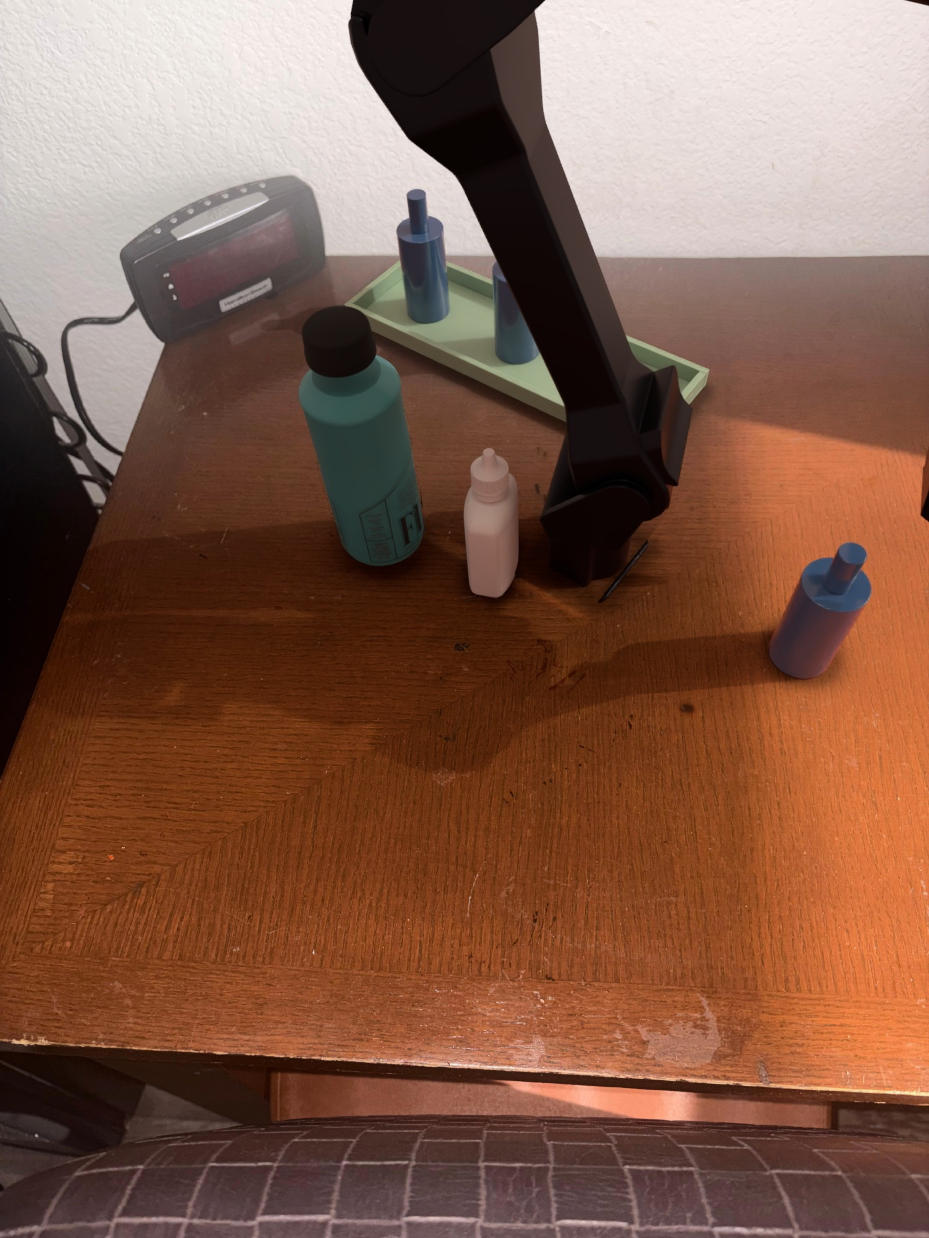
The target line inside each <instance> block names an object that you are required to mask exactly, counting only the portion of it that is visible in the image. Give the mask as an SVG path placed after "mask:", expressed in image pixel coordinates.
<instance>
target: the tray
mask: <svg viewBox="0 0 929 1238" xmlns="http://www.w3.org/2000/svg"><path fill="white" fill-rule="evenodd" d="M446 263H447V276H448V288H449V300H450V311H449V314H448V315H447V316H446V317H445V318H444V319H442V320H440V321H438V322H435V323H429V324H424V323H418V322H415V321H413V320H412V319H411V318H410V317H409V316H408V314H407V310H406V302H405V294H404V287H403V279H402V272H401V264H400V259H399V260H397V262H395V263H394V264H392V265H391V266H390V267H389V268H387V270H385V271H384V272H382V273H381V274H380V275H379V276H378V277H376V278H375V279H374V280H373V281H371V282H370V283H368V285H366V286H365V287H364V288H363V289H361V290H360V291H359V292H358V293H357V294H355V295H354V296H353V297H351V298H350V299H349V300H348V301H346V302H345V303H344V304H343V306H349V307H353V308H356V309H358V310H360V311H361V312H363V313H364V314H365V315H366V317H367V318H368V320H369V323H370V326H371V330H372V333H376V334H377V335H380V336H382V337H384V338H386V339H388V340H390V341H393V342H395V343H396V344H399V345H401V346H403V347H405V348H407V349H409V350H412V351H414V352H416V353H418V354H420V355H422V356H424V357H427V358H429V359H431V360H433V361H435V362H437V363H439V364H441V365H444V366H445V367H448V368H450V369H452V370H453V371H457V372H458V373H461V374H463V375H464V376H467V377H468V378H471V379H473V380H475V381H477V382H479V383H482V384H484V385H486V386H488V387H490V388H492V389H495V390H496V391H499V392H501V393H503V394H505V395H507V396H509V397H511V398H514V399H516V400H518V401H520V402H522V403H524V404H525V405H528V406H531V407H533V408H534V409H537V410H539V411H541V412H543V413H544V414H548V415H549V416H552V417H554V418H555V419H558V420H561V421H563V422H565V423H566V413H565V407H564V404H563V401H562V399H561V397H560V395H559V393H558V391H557V388H556V386H555V384H554V382H553V380H552V378H551V376H550V374H549V371H548V369H547V367H546V365H545V363H544V361H543V359H542V356H541V354H540V353H539V354H538V356H537V357H536V358H535V359H534V360H532V361H530V362H528V363H524V364H509V363H506V362H504V361H502V360H500V359H499V358H498V357H497V355H496V353H495V345H494V313H493V281H492V279H491V278H489V277H486V276H484V275H481V274H479V273H476V272H474V271H471V270H470V269H467V268H464V267H462V266H459V265H457V264H454V263H452V262H450V261H447V260H446ZM625 335H626V337H627V340H628V343H629V345H630V348H631V351H632V353H633V354H634V356H635V358H636V359H637V360H638V361H639V362H641V363H642V364H644V365H645V366H647V367H648V368H650V369H651V370H653V371H657V370H659V369H662V368H665V367H668V366H671V365H675V366H676V369H677V373H678V382H679V388H680V392H681V394H682V396H683V398H684V400H685V401H686V402H687V403H688V404H689V405H690V404H691V403H692V402H693V400H694V399H695V398H696V397H697V396H698V395H699V394H700V392H701V391H702V390H703V388H705V386H706V385H707V382H708V377H709V373H710V369H709V368H707V367H704V366H702V365H699V364H697V363H695V362H693V361H689V360H687V359H685V358H682V357H680V356H679V355H675V354H673V353H670V352H668V351H666V350H663V349H660V348H658V347H656V346H653V345H651V344H649V343H646V342H643V341H641V340H639V339H636V338H634V337H631V336H629V335H627V334H625Z"/></svg>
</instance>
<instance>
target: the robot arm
mask: <svg viewBox="0 0 929 1238" xmlns="http://www.w3.org/2000/svg"><path fill="white" fill-rule="evenodd" d="M904 1H906V2H910V3H914V4H918V5H923V6H927V7H929V0H904ZM544 2H546V0H352V3H351V8H350V18H349V20H348V23H347V28H348V36H349V42H350V45H351V48H352V52H353V54H354V57H355V61H356V63H357V65H358V67H359V68H360V70H361V72H362V74H363V75H364V77H365V79H366V80H367V82H368V83H369V84H370V86H371V87H372V88H373V90H374V92H375V93H376V95H377V96H378V98H379V99H380V100H381V102H382V103H383V105H384V106H385V108H386V109H387V111H388V112H389V114H390V115H391V116H392V118H393V119H394V121H395V122H396V124H397V125H398V127H399V128H400V129H401V131H402V132H403V134H404V135H405V137H406V138H407V139H408V140H409V141H410V143H412V144H413V145H415V146H416V147H417V148H418V149H420V150H421V151H423V153H425V154H427V155H428V156H429V157H431V158H432V159H433V160H434V161H436V162H437V163H438V164H440V165H441V166H443V167H444V168H445V169H446V170H447V171H449V172H450V173H451V174H452V175H453V176H454V177H455V178H456V180H457V182H458V183H459V185H460V186H461V189H462V190H463V192H464V195H465V196H466V199H467V201H468V203H469V205H470V207H471V209H472V212H473V214H474V216H475V219H476V220H477V223H478V224H479V227H480V229H481V231H482V233H483V235H484V238H485V239H486V242H487V243H488V245H489V248H490V250H491V252H492V254H493V256H494V258H495V262H496V261H497V263H498V265H499V267H500V269H501V271H502V273H503V276H504V278H505V280H506V282H507V284H508V286H509V288H510V290H511V293H512V295H513V297H514V299H515V301H516V303H517V305H518V308H519V310H520V312H521V314H522V316H523V318H524V320H525V322H526V325H527V327H528V329H529V331H530V333H531V335H532V337H533V339H534V342H535V344H536V346H537V348H538V350H539V352H540V354H541V356H542V359H543V361H544V363H545V365H546V367H547V369H548V371H549V374H550V376H551V378H552V380H553V382H554V384H555V386H556V388H557V391H558V393H559V395H560V397H561V399H562V401H563V404H564V407H565V413H566V422H565V424H566V425H565V426H566V428H565V429H566V431H565V432H564V437H563V440H562V445H561V447H560V450H559V453H558V457H557V460H556V462H555V463H556V464H555V467H554V469H553V470H554V471H553V475H552V477H551V480H550V483H549V487H548V490H547V494H546V497H545V501H544V503H543V506H542V507H543V508H542V510H541V514H540V517H539V522H540V524H541V526H542V528H543V531H544V533H545V535H546V537H547V538H548V545H547V546H548V548H547V568H548V569H550V570H552V571H554V572H556V573H558V575H561V576H562V577H565V578H567V579H569V580H570V581H572V582H574V583H576V584H577V585H579V586H580V587H584V588H585V587H588V586H589V585H590V584H591V583H592V582H593V581H598V580H604V579H607V578H610V577H612V576H614V575H616V574H617V573H618V572H619V571H621V570H622V571H621V572H620V573H619V574H618V576H617V577H616V578H615V579H614V580H613V582H612V583H611V584H610V586H609V587H608V588H607V589H606V591H605V592H604V593H603V594H602V596H601V597H600V598H599V599H598V602H599V603H604V602H606V601H607V600H608V599H609V597H610V596H611V595H612V594H613V592H614V591H615V590H616V589H617V587H618V586H619V585H620V583H622V581H623V580H624V579H625V577H626V576H627V575H628V574H629V572H630V571H631V570H632V568H633V567H634V566H635V565H636V564H637V562H638V561H639V560H640V558H641V557H642V556H643V555H644V554H645V552H646V551H647V549H648V546H649V544H650V543H649V540H648V539H646V540H645V542H644V543H643V544H642V545H641V547H640V548H639V549H638V551H637V552H636V553H635V554H634V556H633V557H632V558H631V559H630V560H629V562H628V563H627V561H628V559H629V555H630V550H631V544H632V538H633V534H634V533H635V532H636V531H637V530H638V529H639V527H640V526H641V525H642V524H643V523H644V522H649V521H653V519H656V518H657V517H659V516H661V515H662V514H663V513H664V512H665V511H666V510H668V509H669V508H670V505H671V500H672V494H673V489H674V487H678V486H679V483H680V478H681V473H682V468H683V462H684V457H685V453H686V452H685V451H686V447H687V443H688V442H687V441H688V436H689V431H690V425H691V421H692V417H693V411H694V408H693V407H692V406H691V405H690V404H688V403H687V402H686V401H685V400H684V398H683V396H682V394H681V392H680V388H679V382H678V373H677V369H676V366H675V365H671V366H668V367H665V368H662V369H659V370H657V371H653V370H651V369H650V368H648V367H647V366H645V365H644V364H642V363H641V362H639V361H638V360H637V359H636V358H635V356H634V354H633V353H632V351H631V348H630V345H629V343H628V340H627V337H626V335H627V334H626V332H625V329H624V326H623V324H622V321H621V319H620V316H619V314H618V311H617V307H616V305H615V303H614V300H613V297H612V295H611V292H610V290H609V287H608V284H607V281H606V278H605V276H604V273H603V271H602V268H601V265H600V262H599V260H598V257H597V255H596V252H595V250H594V246H593V244H592V241H591V238H590V235H589V233H588V231H587V227H586V225H585V222H584V220H583V218H582V215H581V212H580V209H579V207H578V204H577V202H576V199H575V196H574V193H573V191H572V188H571V185H570V183H569V180H568V177H567V175H566V172H565V170H564V166H563V164H562V162H561V159H560V156H559V153H558V151H557V148H556V145H555V143H554V140H553V137H552V134H551V132H550V129H549V127H548V124H547V120H546V116H545V111H544V99H543V85H542V68H541V51H540V37H539V27H538V21H537V15H536V11H537V9H538V8H539V7H541V5H543V3H544ZM924 460H925V461H924V465H923V467H922V479H921V493H920V497H921V498H920V511H919V512H920V513H919V515H920V517H921V518H923V519H924V520H925V521H927V523H929V446H928V448H927V451H926V454H925V459H924ZM626 563H627V565H626ZM624 566H625V567H624Z"/></svg>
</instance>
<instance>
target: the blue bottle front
mask: <svg viewBox="0 0 929 1238" xmlns="http://www.w3.org/2000/svg"><path fill="white" fill-rule="evenodd" d="M867 560H868V551H867V550H866V549H865V548H864V546H862V545H861V544H859V543H856V542H853V541H852V542H851V541H848V542H844V543H841V545H839V546H838V548H837V550H836V552H835V553H834V556H833V557H831V556H830V557H829V556H828V557H821V558H817V559H814V560H812V561H811V562H810V563H808V564H807V565H806V566H805V567H804V568H803V570H802V572H801V574H800V576H799V579H798V580H797V582H796V585H795V586H794V589H793V591H792V594H791V596H790V598H789V600H788V602H787V603H786V606H785V608H784V610H783V613H782V614H781V617H780V619H779V621H778V624H777V625H776V628H775V630H774V632H773V634H772V636H771V638H770V640H769V643H768V654H769V658H770V659H771V661H772V663H773V665H774V666H775V667H776V668H777V669H778V670H779V671H781V672H782V673H784V674H785V675H787V676H789V677H792V678H796V679H803V680H808V679H814V678H816V677H819V676H821V675H822V674H824V673H825V672H826V671H827V669H829V667H830V665H831V663H832V662H833V660H834V658H835V657H836V656H837V653H838V652H839V650H840V649H841V647H842V646H843V644H844V642H845V640H846V639H847V637H848V635H849V634H850V632H851V631H852V629H853V627H854V626H855V624H856V622H857V620H858V619H859V617H860V616H861V614H862V612H863V611H864V609H865V608H866V606H867V605H868V603H869V601H870V599H871V596H872V590H873V589H872V584H871V581H870V578H869V576H868V575H867V574H866V572H864V570H862V569H863V566H864V565H865V563H866V561H867Z"/></svg>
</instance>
